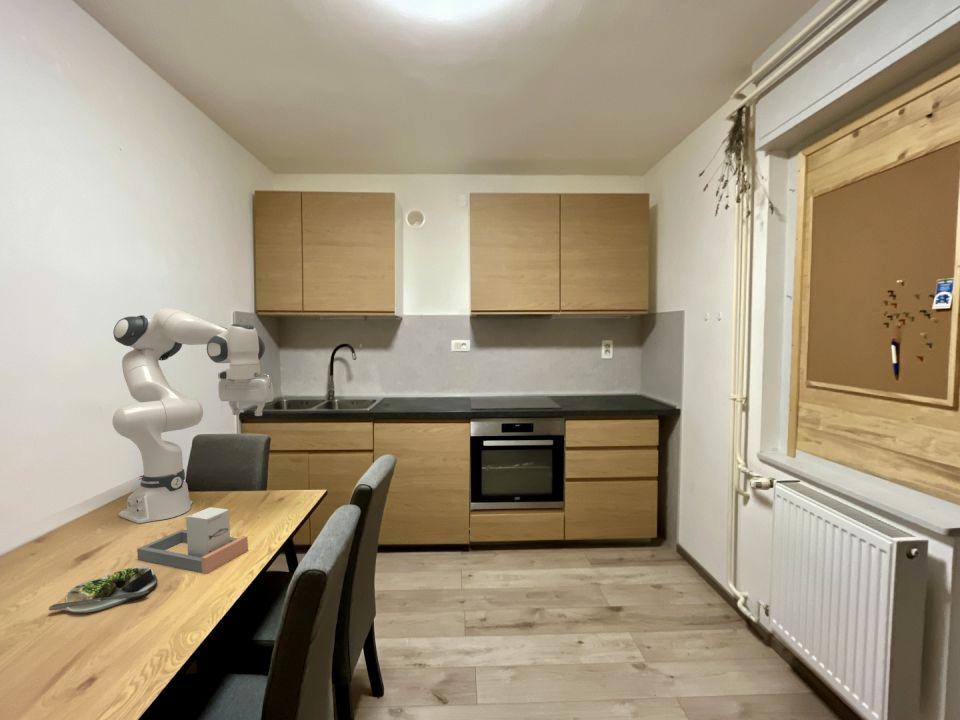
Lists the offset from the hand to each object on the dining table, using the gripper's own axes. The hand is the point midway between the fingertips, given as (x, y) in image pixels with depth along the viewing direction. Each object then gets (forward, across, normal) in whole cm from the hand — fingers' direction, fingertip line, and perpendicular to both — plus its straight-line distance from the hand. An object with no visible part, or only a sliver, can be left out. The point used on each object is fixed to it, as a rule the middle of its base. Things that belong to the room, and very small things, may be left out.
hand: (247, 415), depth 151 cm
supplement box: (+34, -12, +26) cm, 45 cm away
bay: (+34, -6, +26) cm, 43 cm away
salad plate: (+35, -5, +45) cm, 57 cm away
